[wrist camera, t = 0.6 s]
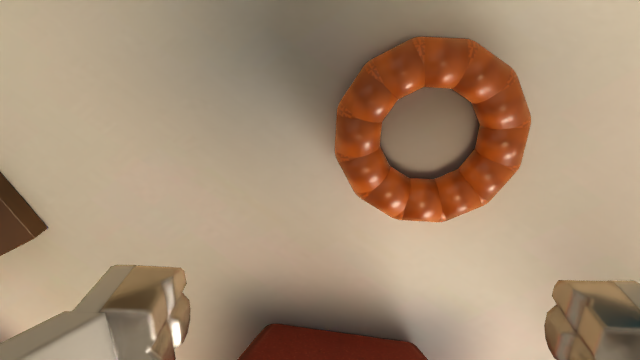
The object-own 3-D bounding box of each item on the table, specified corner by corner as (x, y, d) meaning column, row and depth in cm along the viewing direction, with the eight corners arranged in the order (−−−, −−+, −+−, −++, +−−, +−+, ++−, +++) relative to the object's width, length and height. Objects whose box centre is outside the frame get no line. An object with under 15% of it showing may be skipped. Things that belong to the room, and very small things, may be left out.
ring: (304, 90, 27) (300, 100, 25) (481, -2, 25) (497, -2, 22) (380, 233, 31) (383, 254, 28) (541, 166, 28) (560, 183, 26)
